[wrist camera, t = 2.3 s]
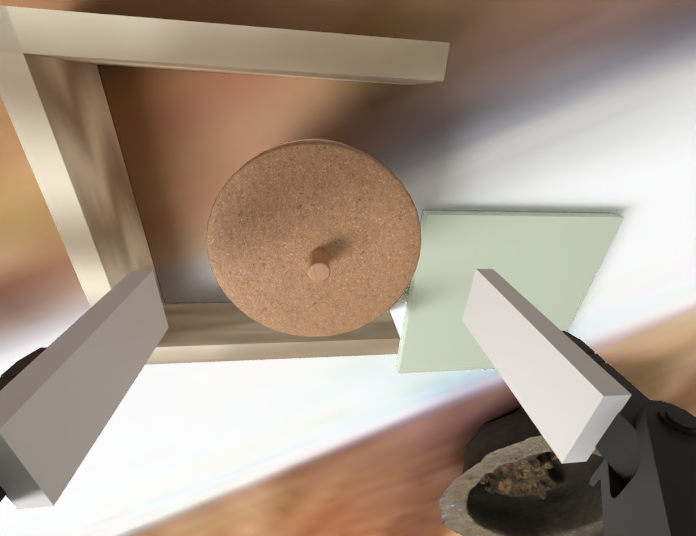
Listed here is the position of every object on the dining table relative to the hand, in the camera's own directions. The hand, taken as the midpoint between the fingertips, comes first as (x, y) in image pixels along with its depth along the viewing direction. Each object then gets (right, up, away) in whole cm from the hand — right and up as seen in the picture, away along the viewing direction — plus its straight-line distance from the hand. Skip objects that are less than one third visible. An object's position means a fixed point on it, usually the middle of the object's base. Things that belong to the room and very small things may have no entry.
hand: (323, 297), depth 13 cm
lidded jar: (-1, +6, +9) cm, 11 cm away
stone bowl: (+23, -21, +27) cm, 42 cm away
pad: (+14, -1, +15) cm, 21 cm away
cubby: (-5, +5, +9) cm, 11 cm away
